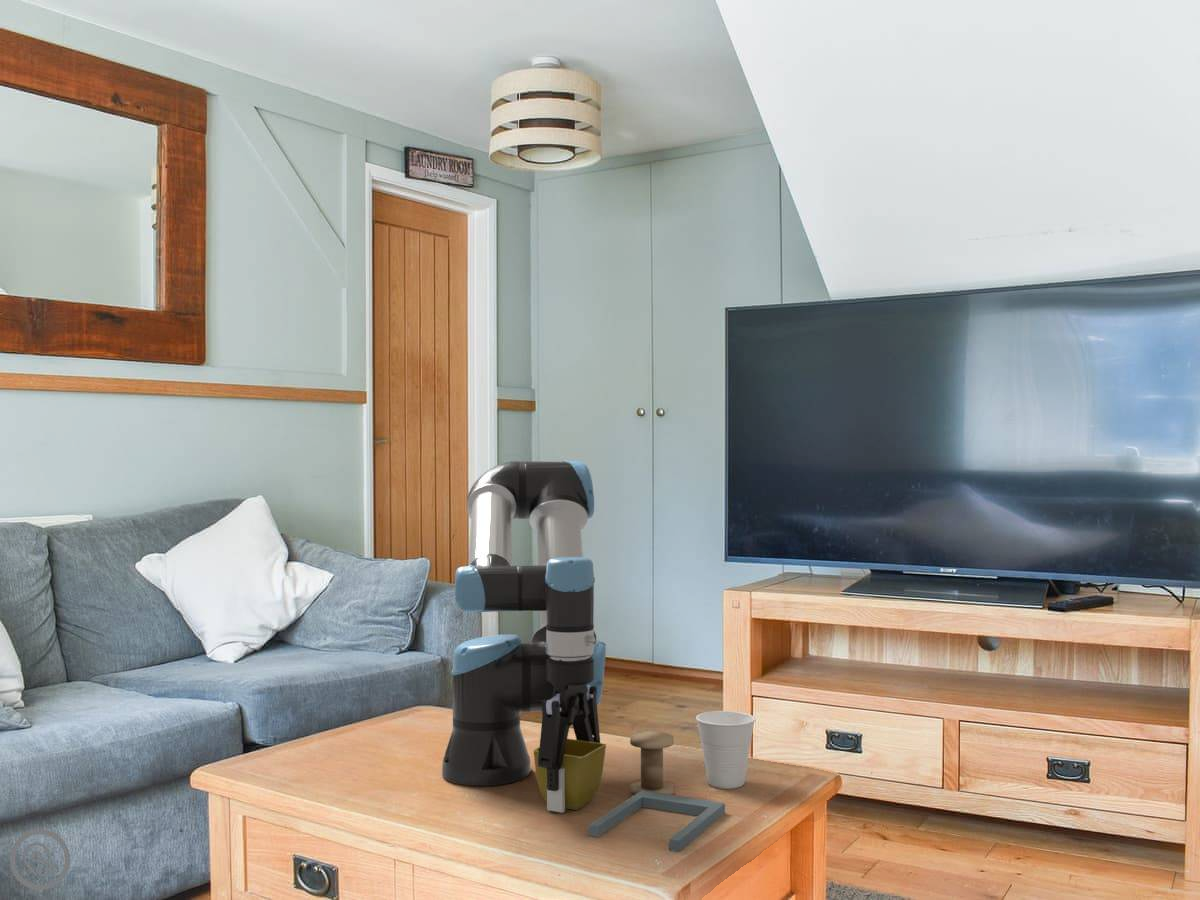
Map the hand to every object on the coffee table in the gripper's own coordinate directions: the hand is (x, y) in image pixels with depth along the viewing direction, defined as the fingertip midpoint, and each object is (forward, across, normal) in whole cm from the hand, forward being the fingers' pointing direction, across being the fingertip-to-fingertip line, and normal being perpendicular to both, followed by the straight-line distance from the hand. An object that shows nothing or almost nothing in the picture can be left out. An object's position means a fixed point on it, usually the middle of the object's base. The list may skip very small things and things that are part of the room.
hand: (570, 801), depth 158 cm
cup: (+1, +21, -18) cm, 28 cm away
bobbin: (0, +11, -9) cm, 14 cm away
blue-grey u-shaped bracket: (0, -2, -16) cm, 16 cm away
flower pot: (+1, 0, 0) cm, 1 cm away
